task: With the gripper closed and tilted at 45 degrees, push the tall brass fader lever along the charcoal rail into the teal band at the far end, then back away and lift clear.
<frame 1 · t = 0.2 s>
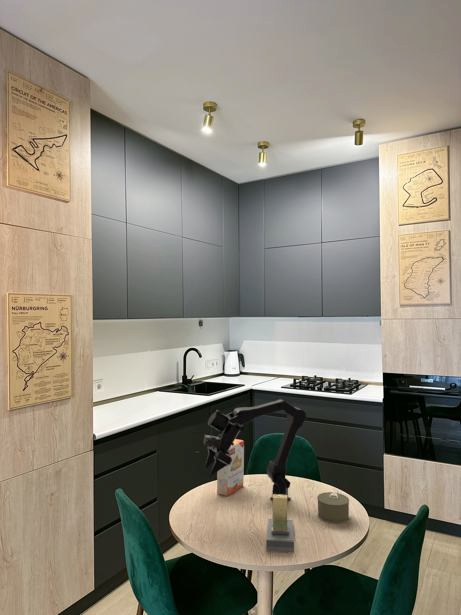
hand: (208, 470, 176), 15 cm above the table, tool tilted 35°, fingers open, 9 cm apart
cracker box: (230, 490, 195), on the table
can: (333, 516, 169), on the table
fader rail: (280, 535, 153), on the table
fader lever: (280, 513, 153), point 8 cm above the table, slide at 0.0 cm
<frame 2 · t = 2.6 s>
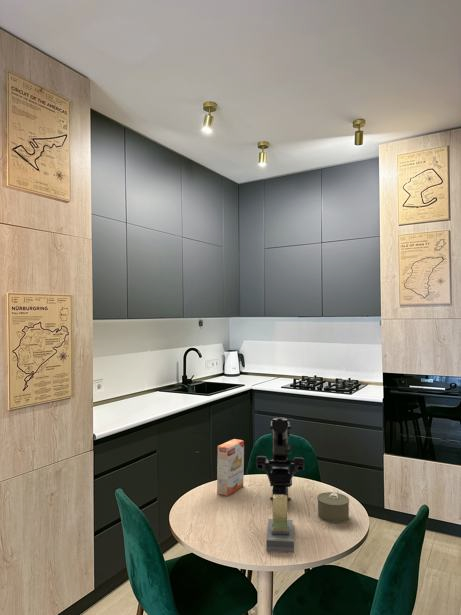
hand: (280, 484, 165), 14 cm above the table, tool tilted 45°, fingers open, 7 cm apart
nothing on the table moved.
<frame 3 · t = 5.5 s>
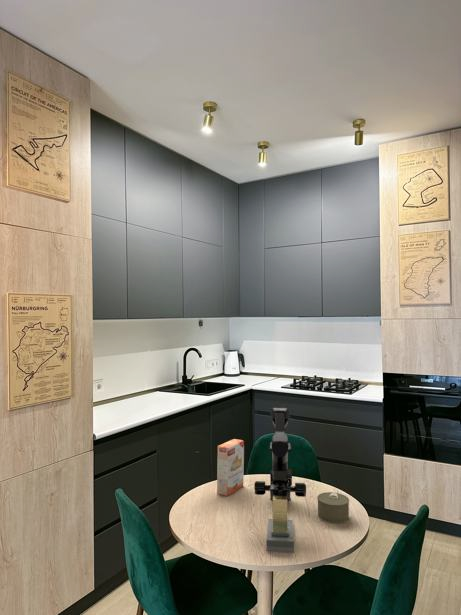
hand: (280, 512, 154), 8 cm above the table, tool tilted 45°, fingers closed, pressing on fader lever
fader lever: (280, 515, 152), point 8 cm above the table, slide at 1.2 cm, touching gripper
everything else where it was.
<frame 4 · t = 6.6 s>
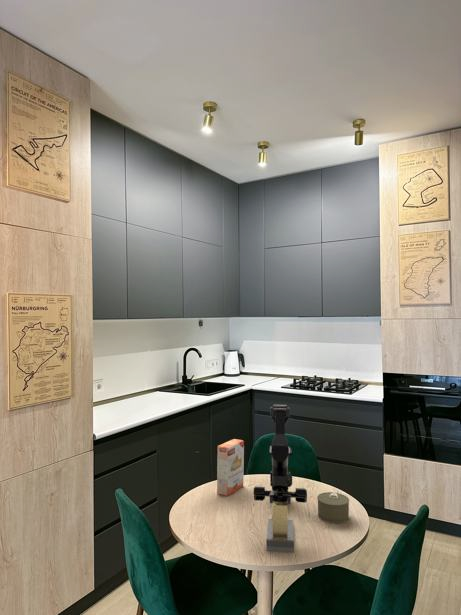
hand: (280, 519, 149), 8 cm above the table, tool tilted 45°, fingers closed, pressing on fader lever
fader lever: (280, 521, 147), point 8 cm above the table, slide at 6.1 cm, touching gripper
everything else where it was.
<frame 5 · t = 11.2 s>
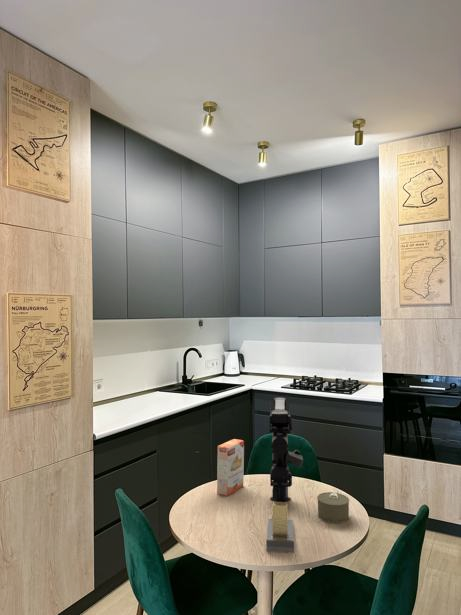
hand: (280, 487, 164), 13 cm above the table, tool pointing down, fingers closed
fader lever: (280, 521, 147), point 8 cm above the table, slide at 6.2 cm
everything else where it was.
at the end: fader lever slide at 6.2 cm; cracker box moved 0.2 cm from its start; can moved 0.3 cm from its start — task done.
